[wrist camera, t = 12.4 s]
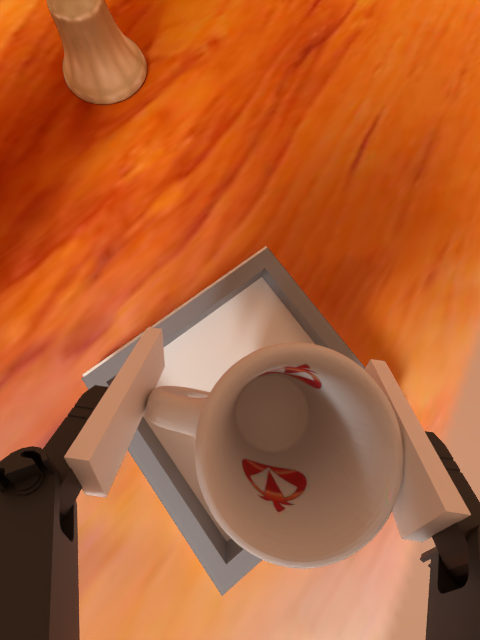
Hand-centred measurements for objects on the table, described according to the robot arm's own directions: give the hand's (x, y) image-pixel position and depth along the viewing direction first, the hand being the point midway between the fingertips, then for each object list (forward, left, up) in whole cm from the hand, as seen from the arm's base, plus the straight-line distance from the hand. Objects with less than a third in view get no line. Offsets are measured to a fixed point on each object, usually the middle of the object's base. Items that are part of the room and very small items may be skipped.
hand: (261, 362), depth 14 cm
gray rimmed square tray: (+2, -2, -8) cm, 8 cm away
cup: (+2, -2, -4) cm, 5 cm away
